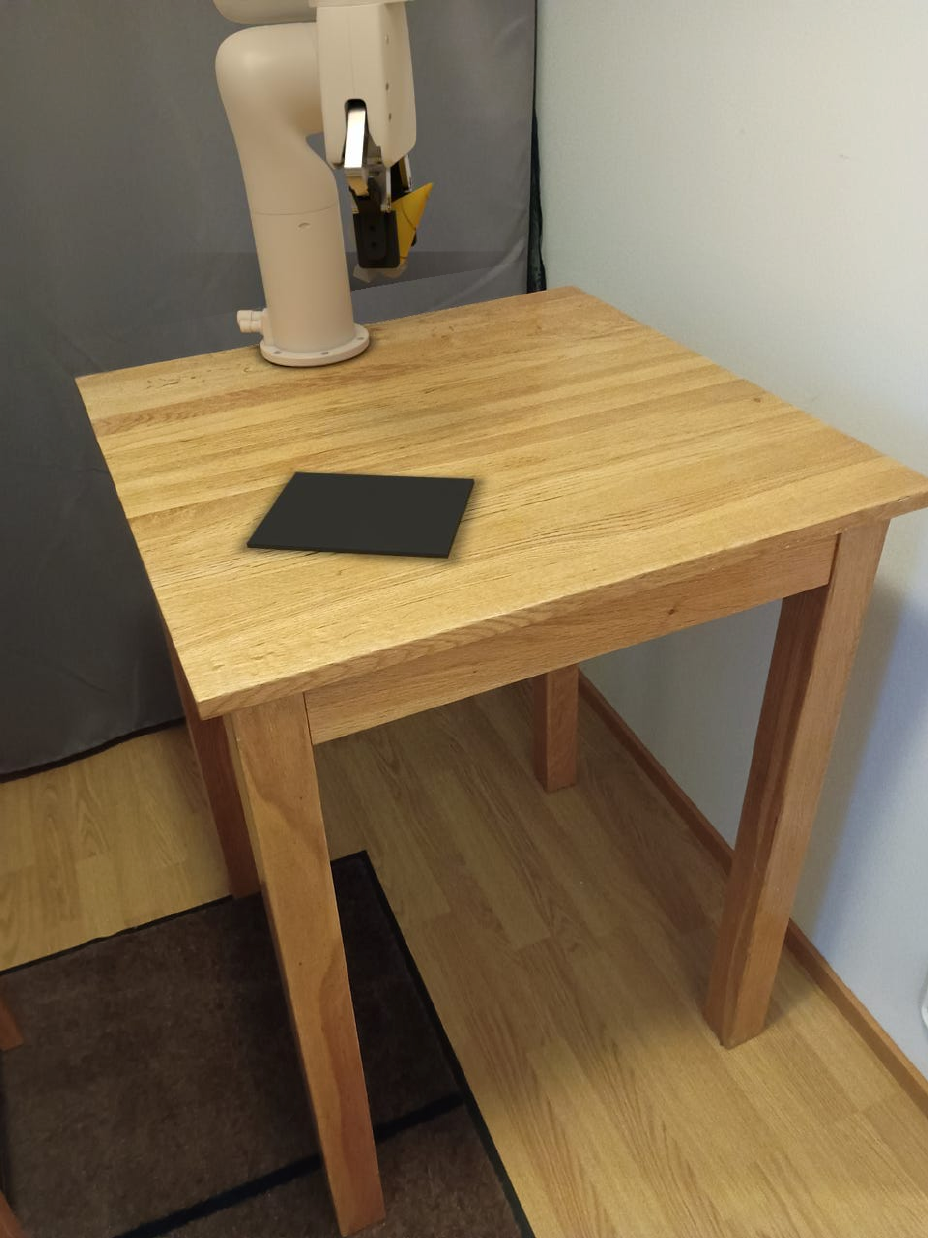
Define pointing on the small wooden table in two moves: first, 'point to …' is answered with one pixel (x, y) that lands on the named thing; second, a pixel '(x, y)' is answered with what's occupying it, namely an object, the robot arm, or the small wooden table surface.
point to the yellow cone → (407, 221)
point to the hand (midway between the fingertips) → (388, 253)
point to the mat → (365, 514)
